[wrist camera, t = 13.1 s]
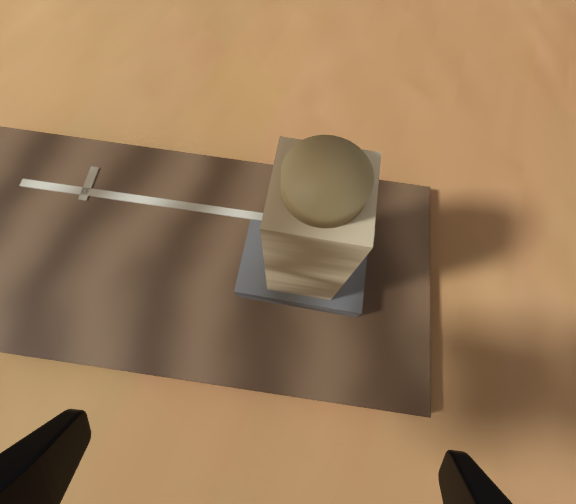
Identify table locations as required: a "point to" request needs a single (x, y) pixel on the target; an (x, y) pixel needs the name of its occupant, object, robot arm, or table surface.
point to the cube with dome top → (314, 227)
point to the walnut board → (196, 276)
